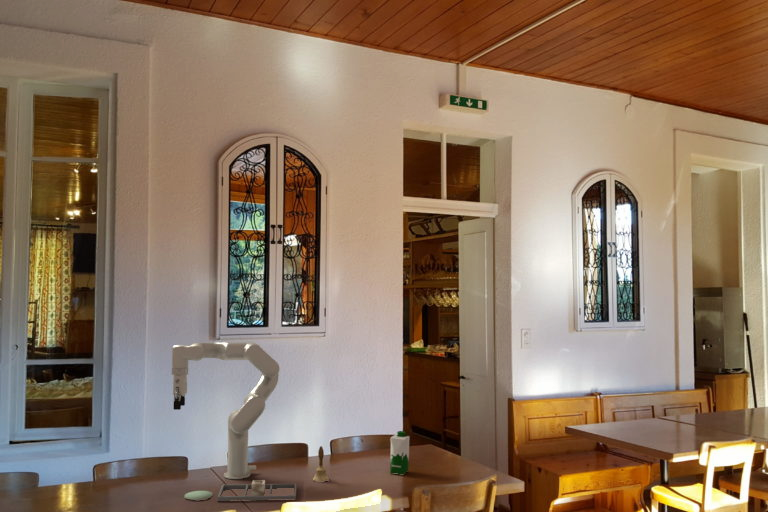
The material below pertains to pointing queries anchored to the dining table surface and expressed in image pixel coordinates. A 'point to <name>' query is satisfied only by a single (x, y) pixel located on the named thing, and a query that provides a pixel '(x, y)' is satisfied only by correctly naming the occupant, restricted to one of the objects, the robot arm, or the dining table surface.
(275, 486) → the organiser
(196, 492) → the mat
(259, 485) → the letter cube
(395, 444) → the milk carton
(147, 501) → the dining table surface
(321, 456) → the hand bell
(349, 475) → the dining table surface
